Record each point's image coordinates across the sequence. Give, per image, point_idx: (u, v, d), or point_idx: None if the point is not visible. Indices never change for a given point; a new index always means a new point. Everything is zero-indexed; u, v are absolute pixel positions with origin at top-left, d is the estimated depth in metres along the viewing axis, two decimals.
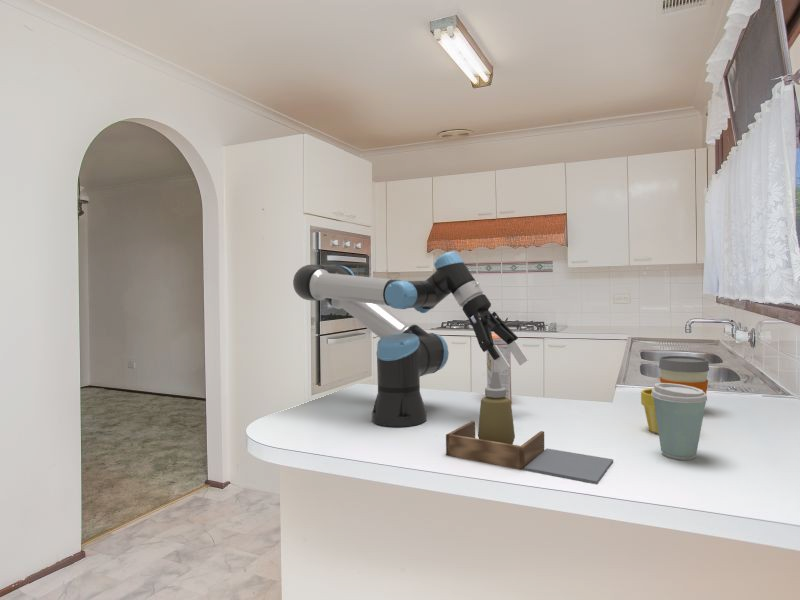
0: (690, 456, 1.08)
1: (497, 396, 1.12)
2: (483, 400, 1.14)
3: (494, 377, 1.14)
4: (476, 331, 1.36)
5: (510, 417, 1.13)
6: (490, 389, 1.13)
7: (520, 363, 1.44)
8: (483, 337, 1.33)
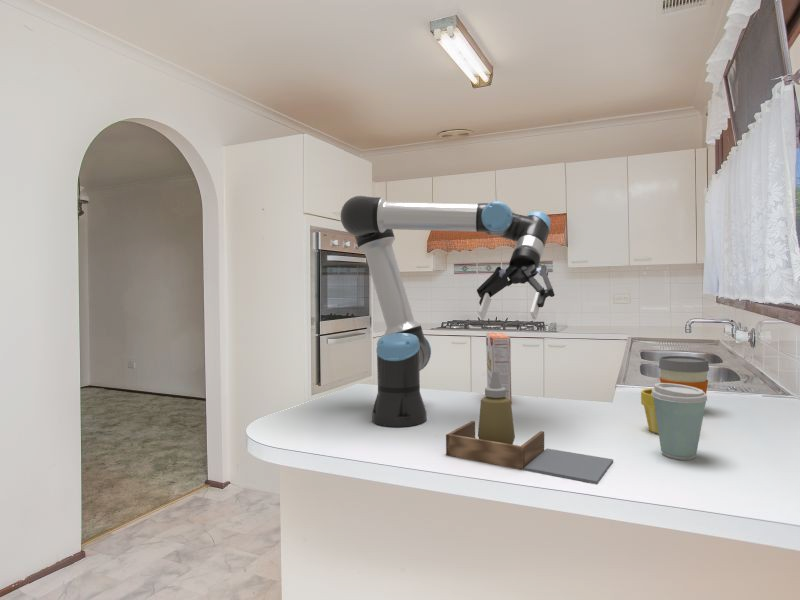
0: (690, 456, 1.08)
1: (497, 396, 1.12)
2: (483, 400, 1.14)
3: (494, 377, 1.14)
4: (548, 278, 1.31)
5: (510, 417, 1.13)
6: (490, 389, 1.13)
7: (481, 311, 1.32)
8: None
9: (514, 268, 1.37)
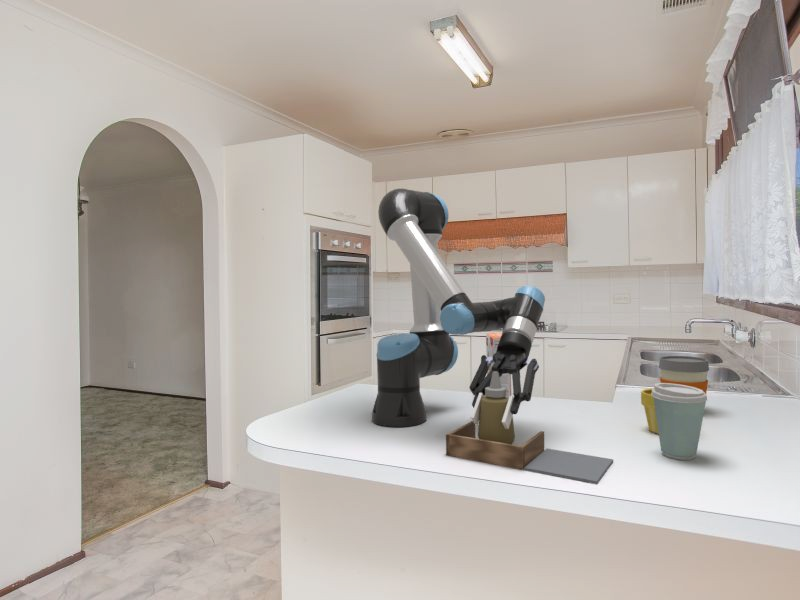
0: (690, 456, 1.08)
1: (497, 396, 1.12)
2: (483, 400, 1.14)
3: (494, 377, 1.14)
4: (531, 377, 1.15)
5: None
6: (490, 389, 1.13)
7: (474, 417, 1.13)
8: (531, 391, 1.14)
9: (502, 356, 1.21)
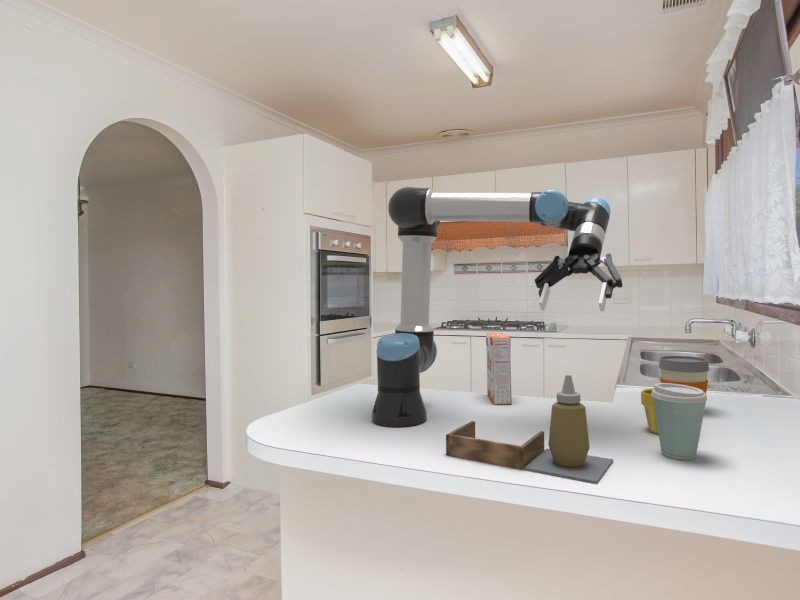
0: (690, 456, 1.08)
1: (572, 402, 1.04)
2: (555, 406, 1.05)
3: (567, 381, 1.05)
4: (614, 267, 1.22)
5: (585, 425, 1.04)
6: (563, 394, 1.05)
7: (542, 302, 1.24)
8: None
9: (575, 257, 1.28)
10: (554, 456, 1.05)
